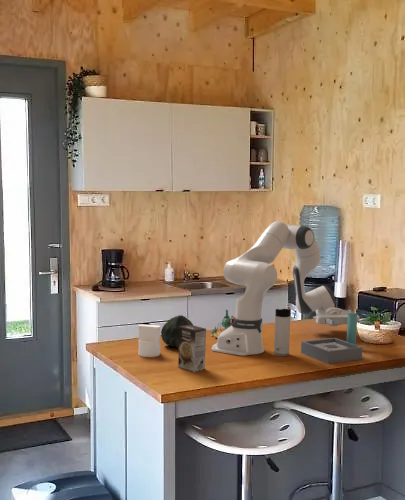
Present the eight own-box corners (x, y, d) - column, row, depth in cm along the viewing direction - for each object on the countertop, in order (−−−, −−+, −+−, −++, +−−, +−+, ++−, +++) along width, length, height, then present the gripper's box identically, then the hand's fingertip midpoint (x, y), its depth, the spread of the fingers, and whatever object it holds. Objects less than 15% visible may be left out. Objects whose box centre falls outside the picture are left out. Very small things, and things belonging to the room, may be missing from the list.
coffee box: (177, 367, 247) (178, 326, 245) (189, 364, 251) (190, 323, 250) (193, 372, 240) (194, 330, 239) (205, 369, 245) (206, 328, 243)
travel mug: (277, 357, 265) (279, 309, 263) (271, 353, 271) (273, 306, 269) (291, 356, 266) (293, 309, 264) (285, 352, 273) (287, 306, 271)
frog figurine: (222, 333, 306) (225, 303, 303) (244, 345, 291) (248, 314, 288) (205, 335, 300) (208, 305, 298) (227, 348, 286) (230, 316, 283)
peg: (345, 349, 279) (347, 313, 278) (346, 347, 283) (348, 312, 281) (355, 350, 278) (356, 314, 276) (355, 348, 282) (357, 312, 280)
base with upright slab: (162, 352, 268) (163, 324, 267) (155, 357, 260) (156, 328, 258) (142, 350, 271) (143, 322, 269) (135, 355, 262) (135, 327, 261)
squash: (171, 327, 290) (164, 307, 280) (202, 332, 286) (196, 311, 275) (161, 353, 281) (153, 333, 271) (193, 358, 277) (186, 338, 266)
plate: (328, 358, 260) (329, 351, 260) (311, 351, 271) (311, 344, 270) (351, 355, 266) (352, 348, 265) (333, 348, 276) (333, 342, 276)
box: (327, 363, 256) (328, 351, 256) (300, 352, 272) (301, 341, 272) (362, 358, 265) (362, 347, 264) (334, 348, 280) (334, 337, 280)
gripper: (312, 310, 302) (321, 315, 289) (353, 310, 305) (364, 315, 291) (311, 323, 303) (320, 329, 289) (352, 322, 306) (363, 329, 292)
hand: (342, 322), depth 290 cm, fingers open, 8 cm apart
